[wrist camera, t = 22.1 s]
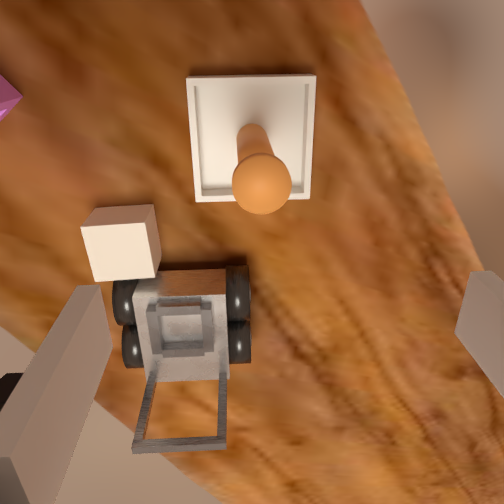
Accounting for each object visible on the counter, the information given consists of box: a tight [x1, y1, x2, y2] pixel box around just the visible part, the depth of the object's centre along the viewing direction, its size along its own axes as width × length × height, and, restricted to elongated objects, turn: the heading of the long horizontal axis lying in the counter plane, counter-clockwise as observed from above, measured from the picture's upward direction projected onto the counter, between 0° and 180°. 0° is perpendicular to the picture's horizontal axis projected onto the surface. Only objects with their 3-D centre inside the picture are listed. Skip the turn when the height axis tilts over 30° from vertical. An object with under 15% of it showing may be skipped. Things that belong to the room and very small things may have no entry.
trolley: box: [112, 265, 251, 454], centre depth 42 cm, size 12×14×16 cm
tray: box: [186, 74, 316, 202], centre depth 39 cm, size 11×11×2 cm
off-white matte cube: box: [80, 204, 162, 282], centre depth 42 cm, size 6×6×5 cm
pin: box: [232, 124, 292, 214], centre depth 34 cm, size 4×4×14 cm
